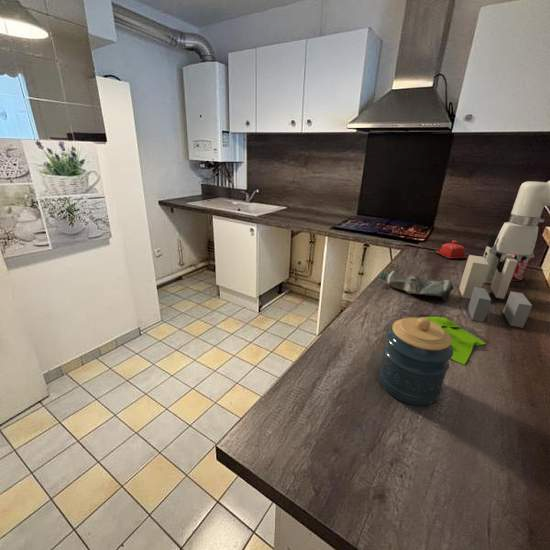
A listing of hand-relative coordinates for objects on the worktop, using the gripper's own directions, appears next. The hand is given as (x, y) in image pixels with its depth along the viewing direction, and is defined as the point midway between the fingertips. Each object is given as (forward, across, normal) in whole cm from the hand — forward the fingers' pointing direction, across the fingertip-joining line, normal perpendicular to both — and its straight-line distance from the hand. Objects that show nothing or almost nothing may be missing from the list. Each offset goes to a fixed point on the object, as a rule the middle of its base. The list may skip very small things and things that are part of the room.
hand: (504, 271), depth 103 cm
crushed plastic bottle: (+11, +28, +7) cm, 31 cm away
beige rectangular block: (+11, +9, 0) cm, 14 cm away
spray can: (+11, 0, -18) cm, 21 cm away
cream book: (+9, 0, 0) cm, 9 cm away
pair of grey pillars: (+11, +4, +17) cm, 21 cm away
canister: (+11, +29, +61) cm, 68 cm away
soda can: (+11, -11, -26) cm, 30 cm away
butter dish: (+11, +10, -48) cm, 50 cm away
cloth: (+11, +20, +37) cm, 43 cm away
